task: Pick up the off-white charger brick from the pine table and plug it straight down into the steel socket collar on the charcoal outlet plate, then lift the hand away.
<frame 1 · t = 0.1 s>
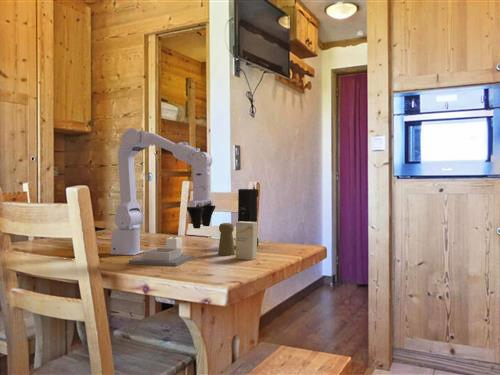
hand: (201, 227, 146), 10 cm above the table, tool pointing down, fingers open, 7 cm apart
cork: (226, 254, 151), on the table
outlet plate: (162, 260, 138), on the table
skincare box: (246, 259, 143), on the table
charger brick: (174, 253, 154), on the table
portable radio: (246, 247, 168), on the table
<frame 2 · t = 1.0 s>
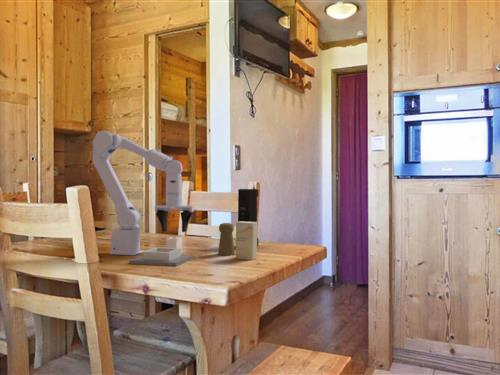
hand: (174, 231, 154), 8 cm above the table, tool pointing down, fingers open, 7 cm apart
nothing on the table moved.
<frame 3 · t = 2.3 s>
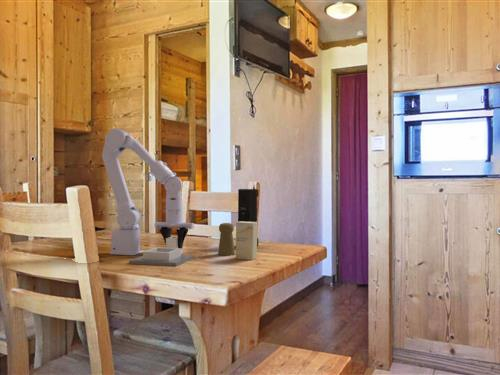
hand: (174, 248, 154), 2 cm above the table, tool pointing down, fingers closed on charger brick, 4 cm apart
charger brick: (174, 253, 154), on the table, touching gripper
everything else where it was.
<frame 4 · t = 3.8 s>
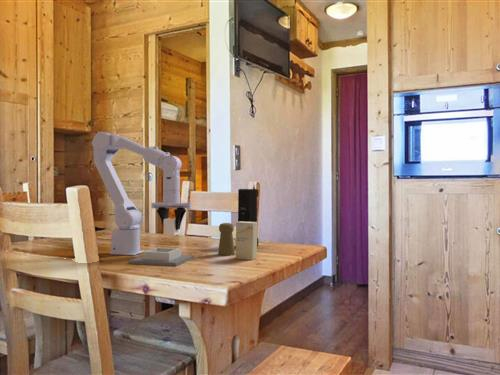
hand: (171, 229, 150), 9 cm above the table, tool pointing down, fingers closed on charger brick, 4 cm apart
charger brick: (172, 234, 150), point 7 cm above the table, touching gripper
everything else where it was.
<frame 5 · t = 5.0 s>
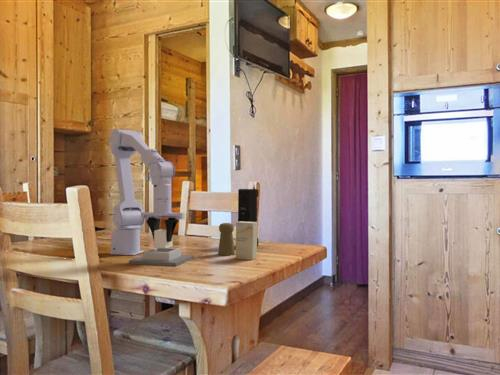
hand: (162, 241, 138), 6 cm above the table, tool pointing down, fingers closed on charger brick, 4 cm apart
charger brick: (163, 247, 139), point 4 cm above the table, touching gripper
everything else where it was.
when the fingers open (4 cm above the table, at t = 5.8 s): charger brick drops 1 cm, resting on outlet plate.
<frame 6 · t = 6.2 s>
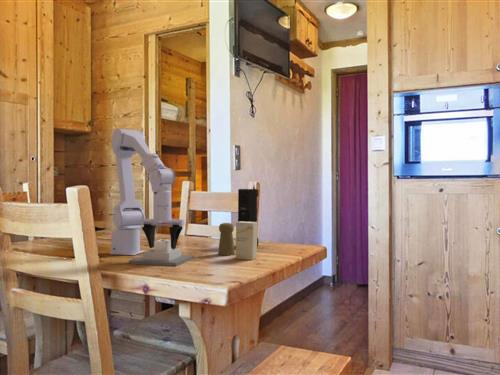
hand: (162, 248, 138), 4 cm above the table, tool pointing down, fingers open, 7 cm apart
charger brick: (163, 257, 139), point 1 cm above the table, touching outlet plate
everything else where it was.
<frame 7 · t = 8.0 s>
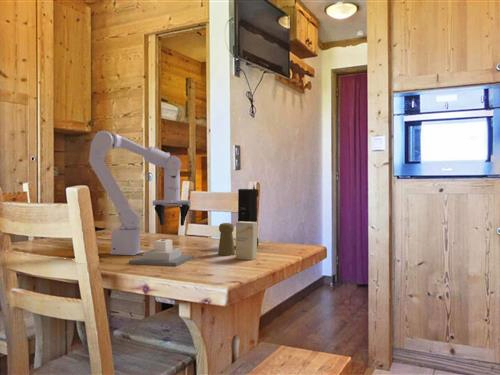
hand: (172, 225, 158), 9 cm above the table, tool pointing down, fingers open, 7 cm apart
nothing on the table moved.
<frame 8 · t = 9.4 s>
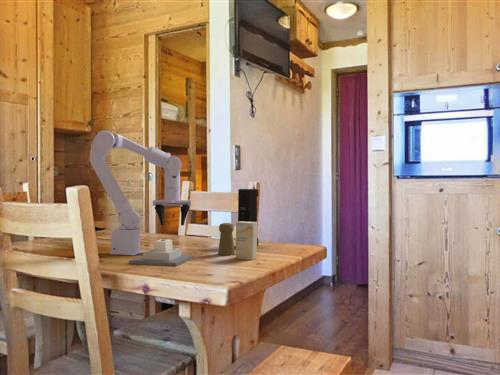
hand: (172, 225, 159), 9 cm above the table, tool pointing down, fingers open, 7 cm apart
nothing on the table moved.
at the end: charger brick 0.5 cm off-centre on the outlet plate, point 1.0 cm above the outlet plate's base; charger brick tilted 0°; the gripper is holding nothing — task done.
